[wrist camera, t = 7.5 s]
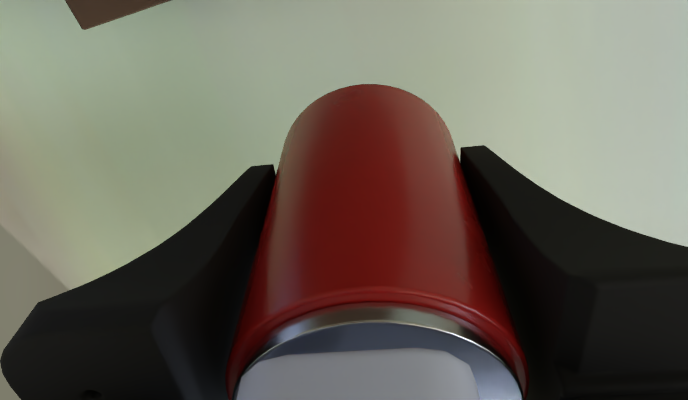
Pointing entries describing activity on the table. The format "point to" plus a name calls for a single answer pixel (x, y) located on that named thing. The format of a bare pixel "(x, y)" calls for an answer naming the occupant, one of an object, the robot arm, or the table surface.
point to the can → (375, 246)
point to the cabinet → (106, 10)
